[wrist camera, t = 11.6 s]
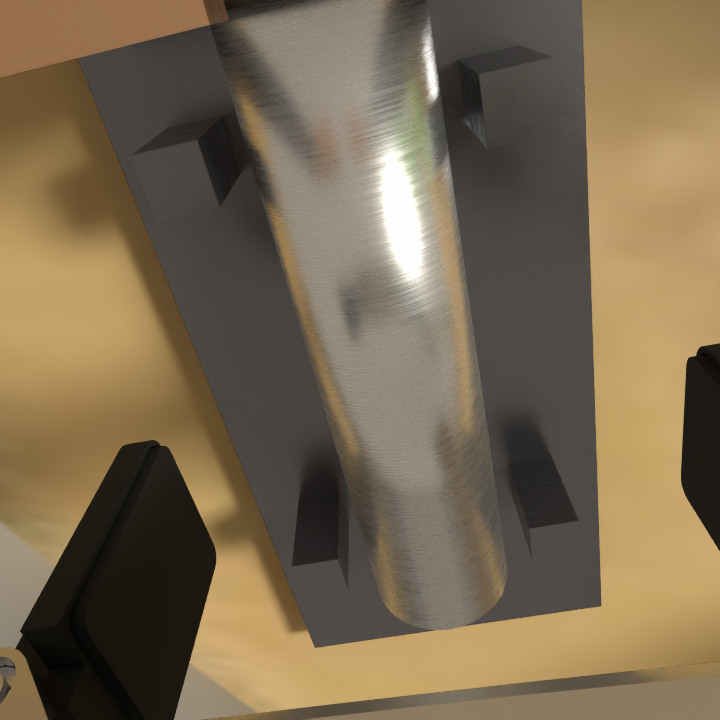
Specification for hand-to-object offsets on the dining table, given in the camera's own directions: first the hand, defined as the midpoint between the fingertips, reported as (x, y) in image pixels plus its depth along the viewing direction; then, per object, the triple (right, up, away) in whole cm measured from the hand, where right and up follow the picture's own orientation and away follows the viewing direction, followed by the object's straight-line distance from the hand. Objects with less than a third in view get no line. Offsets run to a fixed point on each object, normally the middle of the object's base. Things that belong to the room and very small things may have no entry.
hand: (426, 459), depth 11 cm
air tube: (-1, +4, +7) cm, 8 cm away
